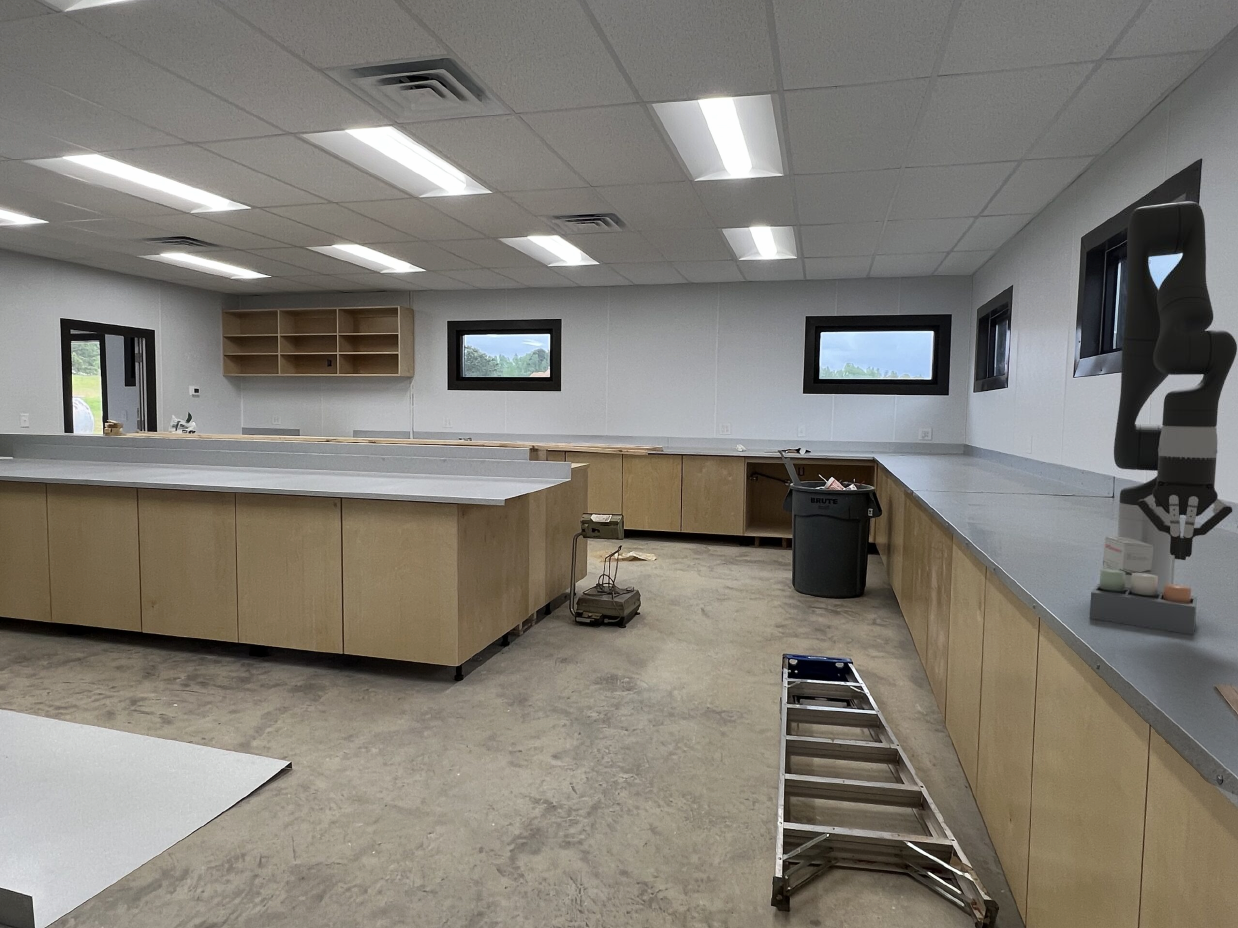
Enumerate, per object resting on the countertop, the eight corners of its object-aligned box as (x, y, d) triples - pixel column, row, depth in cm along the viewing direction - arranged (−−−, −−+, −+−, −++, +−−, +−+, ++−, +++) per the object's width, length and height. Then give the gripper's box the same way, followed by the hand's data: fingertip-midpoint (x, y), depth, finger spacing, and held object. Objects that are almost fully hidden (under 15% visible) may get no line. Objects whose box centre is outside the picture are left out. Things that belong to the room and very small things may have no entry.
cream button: (1131, 589, 127) (1132, 571, 127) (1157, 592, 125) (1158, 575, 124) (1129, 592, 124) (1130, 575, 124) (1155, 596, 122) (1157, 578, 122)
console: (1096, 608, 133) (1098, 583, 132) (1195, 622, 124) (1197, 596, 123) (1089, 618, 126) (1091, 592, 125) (1193, 634, 117) (1195, 606, 116)
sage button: (1100, 584, 130) (1101, 568, 130) (1125, 588, 127) (1126, 571, 127) (1098, 588, 127) (1099, 571, 127) (1123, 591, 125) (1124, 574, 125)
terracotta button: (1163, 600, 124) (1164, 583, 124) (1190, 604, 122) (1191, 586, 122) (1162, 604, 121) (1163, 586, 121) (1189, 608, 119) (1190, 590, 119)
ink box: (1150, 609, 132) (1154, 544, 132) (1119, 607, 133) (1123, 542, 133) (1127, 598, 141) (1131, 536, 140) (1098, 596, 142) (1102, 535, 141)
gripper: (1239, 455, 119) (1232, 561, 120) (1139, 451, 127) (1133, 550, 128) (1240, 457, 113) (1232, 568, 114) (1135, 453, 121) (1129, 557, 123)
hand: (1180, 558), depth 121 cm, fingers closed
